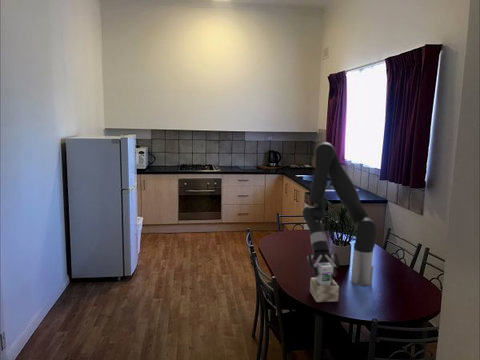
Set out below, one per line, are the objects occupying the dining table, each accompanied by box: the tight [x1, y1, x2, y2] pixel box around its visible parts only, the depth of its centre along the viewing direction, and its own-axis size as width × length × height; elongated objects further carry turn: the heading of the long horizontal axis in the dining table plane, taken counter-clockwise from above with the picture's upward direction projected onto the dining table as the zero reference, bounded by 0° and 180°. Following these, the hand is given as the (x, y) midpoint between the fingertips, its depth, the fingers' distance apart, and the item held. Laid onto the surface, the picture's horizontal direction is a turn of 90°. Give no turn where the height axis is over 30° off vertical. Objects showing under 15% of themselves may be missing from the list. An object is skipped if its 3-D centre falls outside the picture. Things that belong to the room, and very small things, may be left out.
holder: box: [309, 277, 340, 303], centre depth 177 cm, size 10×10×7 cm
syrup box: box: [315, 262, 334, 286], centre depth 177 cm, size 6×6×14 cm
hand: (326, 276), depth 175 cm, fingers open, 8 cm apart
